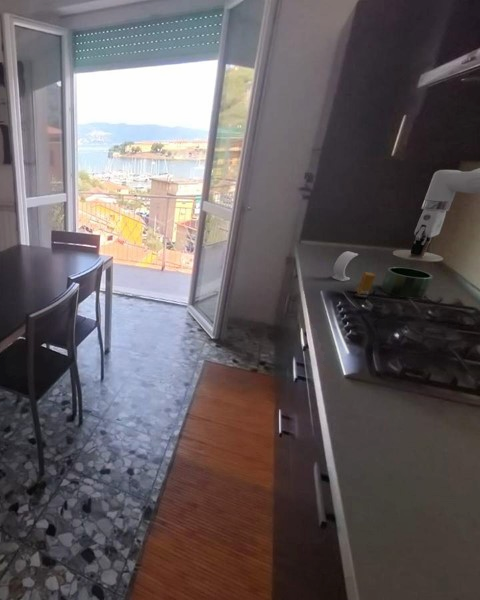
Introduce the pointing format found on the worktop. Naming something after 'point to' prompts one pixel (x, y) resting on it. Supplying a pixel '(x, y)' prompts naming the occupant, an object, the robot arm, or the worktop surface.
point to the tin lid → (423, 257)
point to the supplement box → (366, 283)
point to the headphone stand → (342, 265)
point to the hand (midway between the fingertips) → (418, 252)
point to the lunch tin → (406, 282)
